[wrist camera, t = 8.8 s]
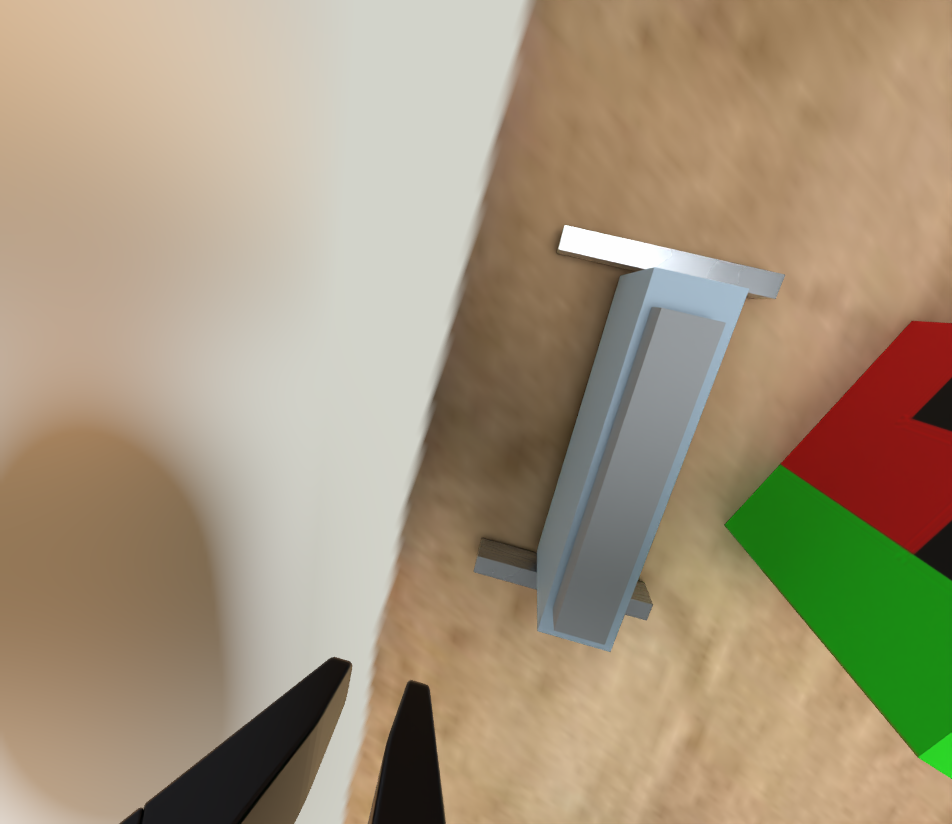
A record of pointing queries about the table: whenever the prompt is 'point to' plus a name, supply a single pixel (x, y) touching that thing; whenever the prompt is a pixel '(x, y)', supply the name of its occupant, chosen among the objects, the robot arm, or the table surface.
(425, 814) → the robot arm
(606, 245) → the grey rail base
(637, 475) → the bar
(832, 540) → the puzzle toy
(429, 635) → the table surface
